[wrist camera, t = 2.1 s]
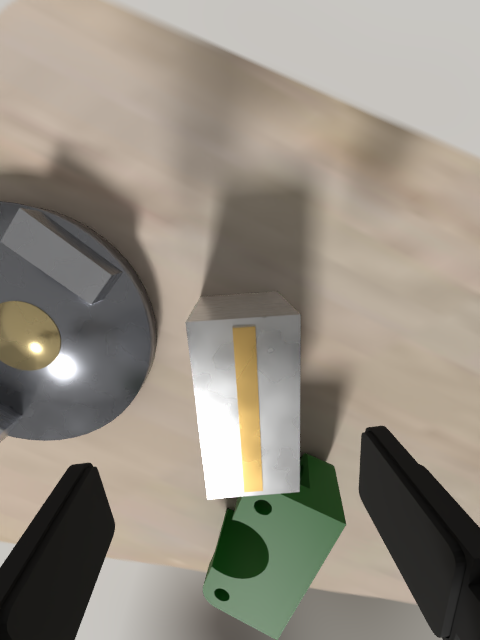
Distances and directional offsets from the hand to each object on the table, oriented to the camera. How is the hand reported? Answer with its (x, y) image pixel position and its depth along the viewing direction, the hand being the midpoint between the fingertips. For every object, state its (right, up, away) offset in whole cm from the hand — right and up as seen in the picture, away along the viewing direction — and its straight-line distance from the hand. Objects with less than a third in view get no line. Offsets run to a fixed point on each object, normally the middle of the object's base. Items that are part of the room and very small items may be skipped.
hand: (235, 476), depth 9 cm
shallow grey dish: (-13, +5, +8) cm, 16 cm away
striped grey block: (0, +3, +9) cm, 10 cm away
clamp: (+2, -9, +13) cm, 16 cm away
